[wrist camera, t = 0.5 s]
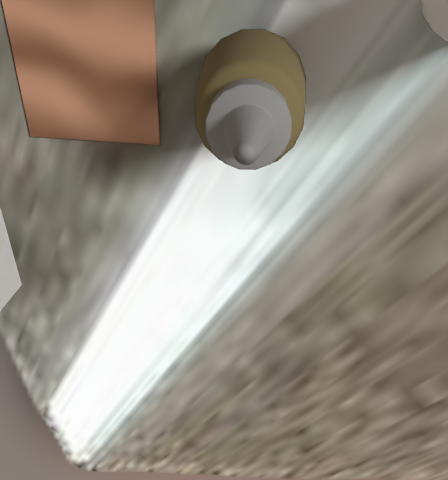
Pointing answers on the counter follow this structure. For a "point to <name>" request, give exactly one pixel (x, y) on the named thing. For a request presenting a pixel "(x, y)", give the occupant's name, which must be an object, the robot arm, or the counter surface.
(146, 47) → the rail
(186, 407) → the counter surface
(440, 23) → the foam cup
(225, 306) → the counter surface
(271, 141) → the squeeze bottle
